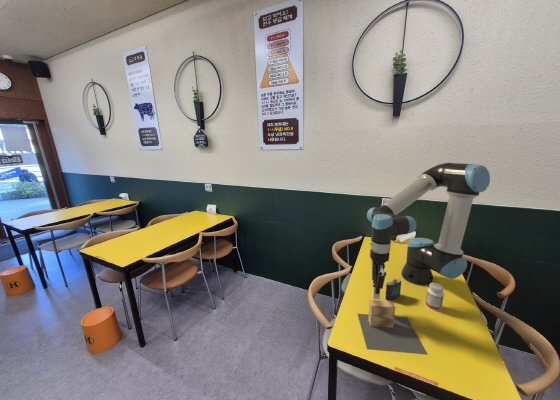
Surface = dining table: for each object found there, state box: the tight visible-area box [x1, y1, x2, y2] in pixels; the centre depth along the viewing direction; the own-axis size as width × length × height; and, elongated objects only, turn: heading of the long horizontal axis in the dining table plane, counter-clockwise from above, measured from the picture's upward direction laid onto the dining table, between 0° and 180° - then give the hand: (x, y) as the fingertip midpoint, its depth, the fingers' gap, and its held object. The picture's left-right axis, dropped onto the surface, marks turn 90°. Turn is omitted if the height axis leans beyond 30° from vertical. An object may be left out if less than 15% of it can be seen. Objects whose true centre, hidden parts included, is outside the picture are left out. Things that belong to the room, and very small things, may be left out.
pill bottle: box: [425, 282, 445, 312], centre depth 101 cm, size 6×6×11 cm
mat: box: [357, 313, 428, 355], centre depth 89 cm, size 21×18×1 cm
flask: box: [385, 277, 402, 301], centre depth 108 cm, size 9×3×11 cm, turn 114°
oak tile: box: [368, 299, 396, 328], centre depth 92 cm, size 9×4×10 cm, turn 82°
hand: (375, 298), depth 100 cm, fingers closed
